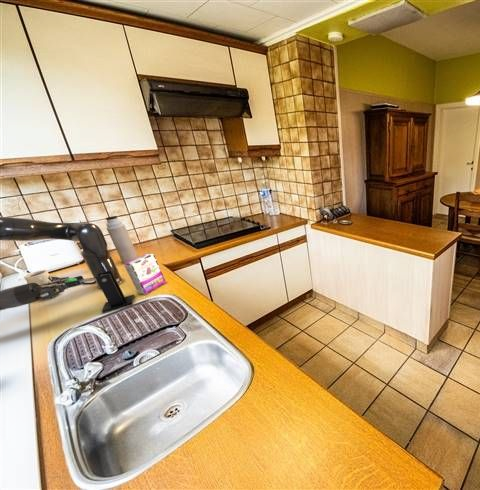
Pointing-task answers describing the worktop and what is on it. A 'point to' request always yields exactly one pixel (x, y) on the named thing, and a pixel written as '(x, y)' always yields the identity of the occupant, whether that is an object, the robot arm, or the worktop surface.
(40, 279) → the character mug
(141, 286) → the candy bar box
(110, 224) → the thermos bottle
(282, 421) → the worktop surface
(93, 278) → the switch lever
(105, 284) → the switch bracket
